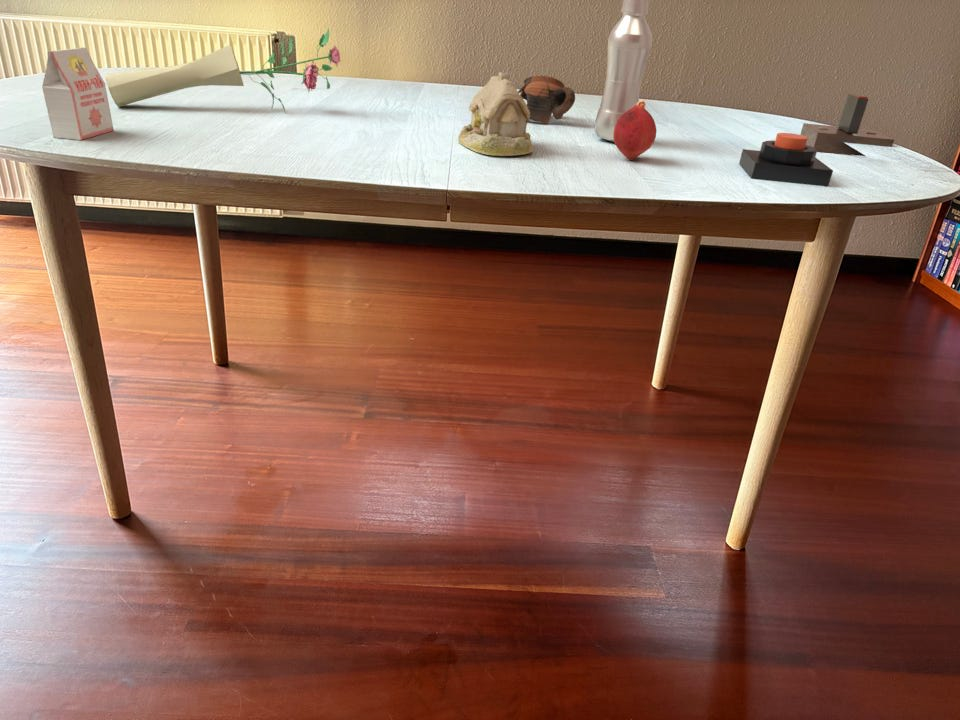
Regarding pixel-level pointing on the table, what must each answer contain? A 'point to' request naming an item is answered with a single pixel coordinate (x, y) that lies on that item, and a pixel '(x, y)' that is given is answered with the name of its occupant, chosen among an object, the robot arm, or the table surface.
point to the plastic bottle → (624, 66)
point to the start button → (791, 141)
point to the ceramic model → (498, 120)
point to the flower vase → (205, 75)
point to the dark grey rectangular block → (853, 113)
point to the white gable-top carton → (75, 95)
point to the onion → (635, 131)
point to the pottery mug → (546, 98)
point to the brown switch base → (842, 139)
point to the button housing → (785, 165)
